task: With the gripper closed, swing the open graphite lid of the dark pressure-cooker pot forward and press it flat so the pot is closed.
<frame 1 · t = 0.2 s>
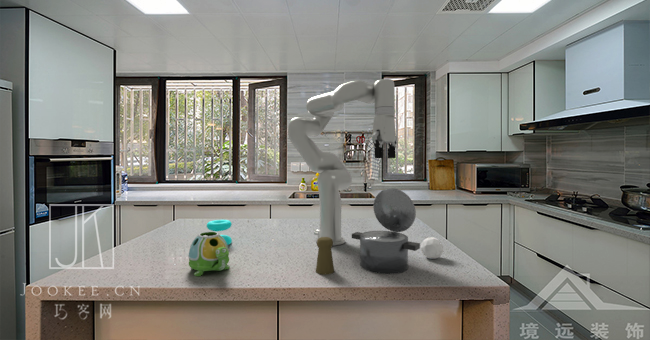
hand: (385, 158, 116), 37 cm above the table, tool pointing down, fingers open, 9 cm apart
pot: (383, 265, 104), on the table
turquoise spool shape: (219, 245, 129), on the table
turtle holder: (211, 271, 99), on the table
geometric ball: (431, 258, 112), on the table
lid: (394, 209, 110), point 18 cm above the table, hinge at 80.0°
cork: (324, 271, 99), on the table
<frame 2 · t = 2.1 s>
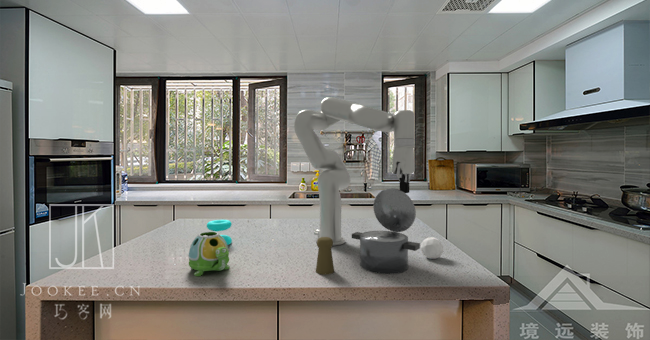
hand: (404, 192, 115), 24 cm above the table, tool pointing down, fingers closed
nothing on the table moved.
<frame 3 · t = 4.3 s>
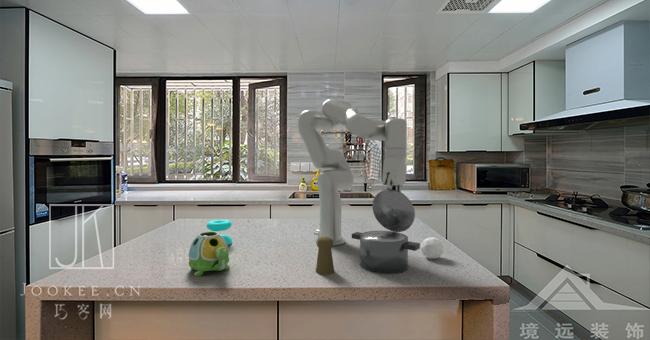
hand: (394, 204, 110), 20 cm above the table, tool pointing down, fingers closed
lid: (393, 209, 109), point 18 cm above the table, hinge at 75.0°, touching gripper
everything else where it was.
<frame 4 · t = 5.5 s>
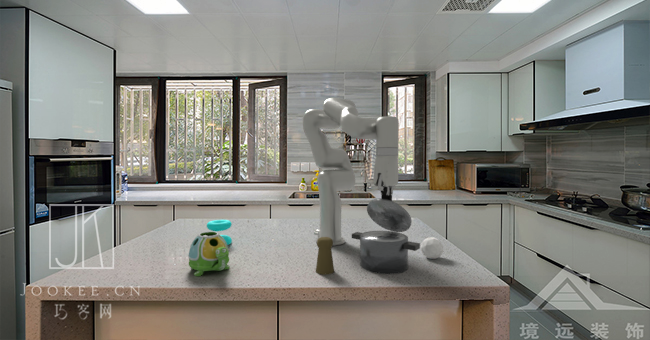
hand: (386, 206, 105), 20 cm above the table, tool pointing down, fingers closed
lid: (389, 214, 107), point 17 cm above the table, hinge at 50.4°
everything else where it was.
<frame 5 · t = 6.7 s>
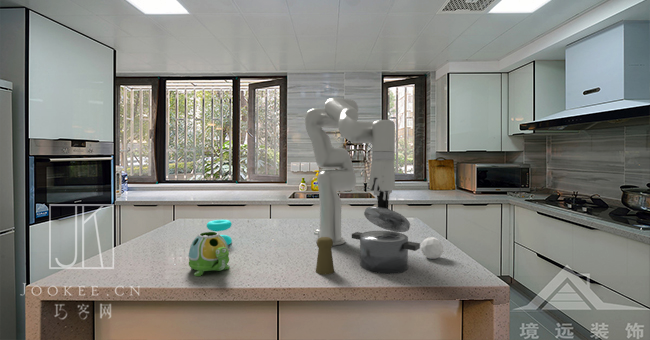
hand: (382, 211, 103), 19 cm above the table, tool pointing down, fingers closed
lid: (387, 217, 105), point 16 cm above the table, hinge at 37.4°, touching gripper
everything else where it was.
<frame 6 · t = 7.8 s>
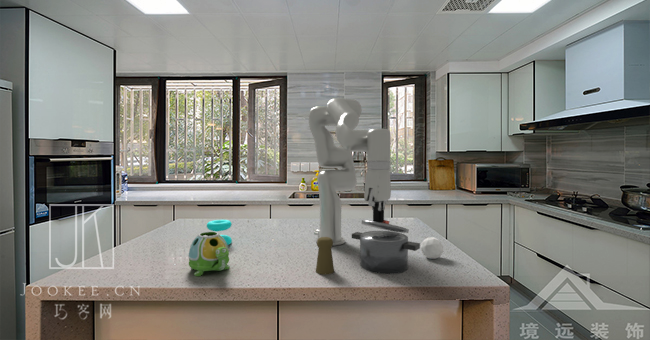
hand: (378, 222, 101), 16 cm above the table, tool pointing down, fingers closed
lid: (385, 224, 104), point 14 cm above the table, hinge at 18.8°, touching gripper
everything else where it was.
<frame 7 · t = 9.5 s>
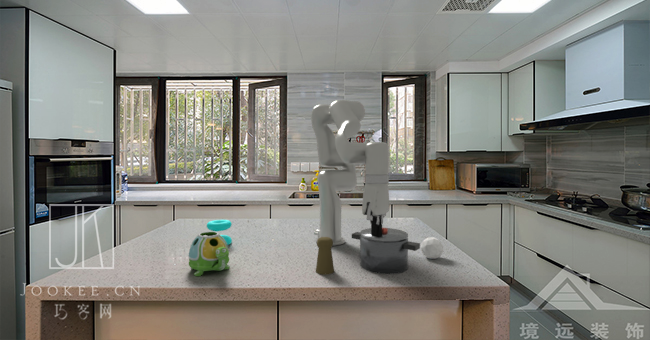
hand: (376, 235, 100), 11 cm above the table, tool pointing down, fingers closed
lid: (383, 232, 104), point 11 cm above the table, hinge at -0.1°, touching gripper
everything else where it was.
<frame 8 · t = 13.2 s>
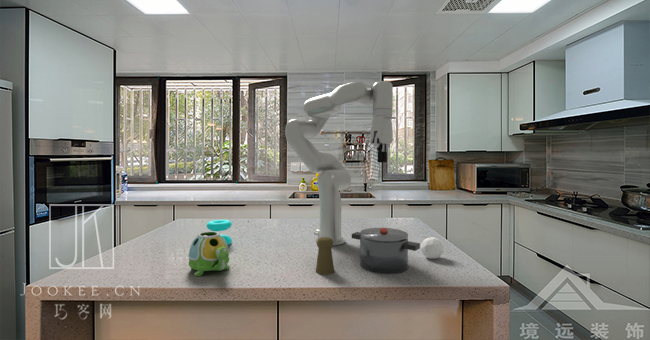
hand: (382, 162, 118), 35 cm above the table, tool pointing down, fingers closed
lid: (383, 232, 104), point 11 cm above the table, hinge at -0.1°
everything else where it was.
at the end: lid at +0° (first picture: +80°) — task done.
